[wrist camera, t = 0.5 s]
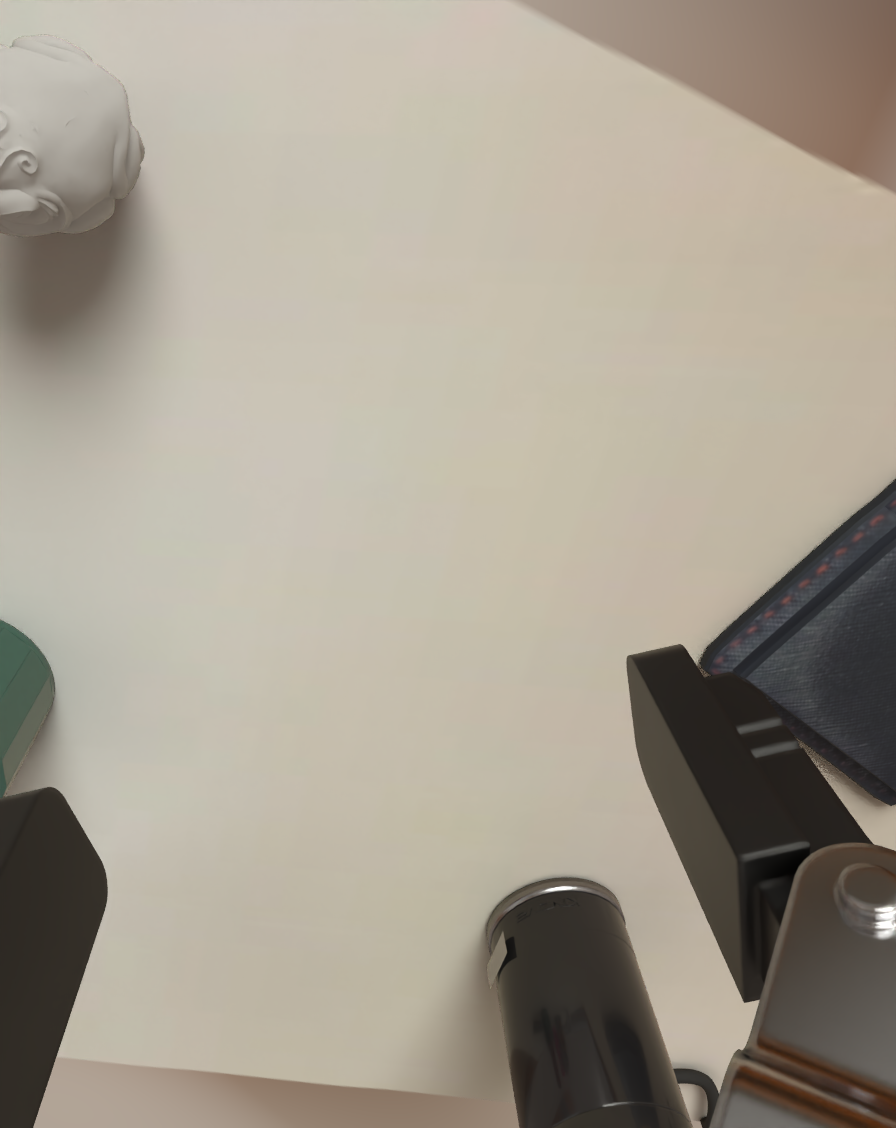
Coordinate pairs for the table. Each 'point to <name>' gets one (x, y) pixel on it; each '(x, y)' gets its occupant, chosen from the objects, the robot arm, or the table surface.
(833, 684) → the wallet
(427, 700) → the table surface
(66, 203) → the frog figurine
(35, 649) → the tumbler
